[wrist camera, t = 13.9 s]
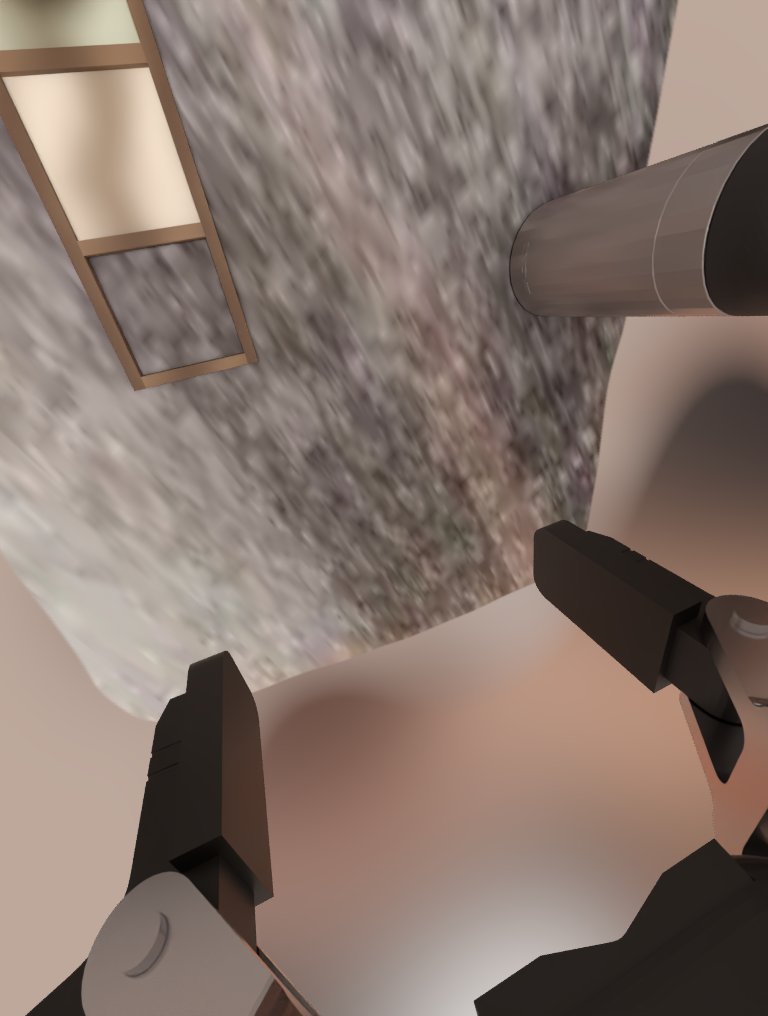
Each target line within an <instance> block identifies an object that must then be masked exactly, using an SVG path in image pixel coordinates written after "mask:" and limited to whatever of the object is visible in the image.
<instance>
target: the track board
mask: <svg viewBox="0 0 768 1016" xmlns="http://www.w3.org/2000/svg"><path fill="white" fill-rule="evenodd" d="M0 116H1V118H2V120H3V122H4V124H5V126H6V128H7V130H8V132H9V134H10V136H11V138H12V140H13V142H14V145H15V147H16V149H17V151H18V153H19V155H20V157H21V159H22V161H23V163H24V165H25V167H26V169H27V171H28V173H29V175H30V177H31V179H32V181H33V184H34V186H35V188H36V190H37V192H38V194H39V196H40V198H41V200H42V202H43V204H44V206H45V208H46V210H47V212H48V214H49V216H50V218H51V220H52V223H53V225H54V227H55V229H56V231H57V233H58V235H59V237H60V239H61V241H62V243H63V245H64V247H65V249H66V251H67V253H68V255H69V257H70V259H71V262H72V264H73V266H74V268H75V270H76V272H77V274H78V276H79V278H80V280H81V282H82V284H83V286H84V288H85V290H86V292H87V294H88V296H89V298H90V301H91V303H92V305H93V307H94V309H95V311H96V313H97V315H98V317H99V319H100V321H101V323H102V325H103V327H104V329H105V331H106V333H107V335H108V337H109V340H110V342H111V344H112V346H113V348H114V350H115V352H116V354H117V356H118V358H119V360H120V362H121V364H122V366H123V368H124V370H125V372H126V374H127V376H128V379H129V381H130V383H131V385H132V387H133V389H134V391H136V390H140V389H145V388H149V387H153V386H157V385H162V384H166V383H170V382H174V381H178V380H183V379H187V378H191V377H195V376H200V375H204V374H208V373H212V372H216V371H221V370H225V369H229V368H233V367H238V366H242V365H246V364H250V363H254V362H258V359H257V356H256V353H255V350H254V347H253V344H252V341H251V337H250V334H249V331H248V328H247V325H246V322H245V319H244V316H243V313H242V309H241V306H240V303H239V300H238V297H237V294H236V291H235V288H234V285H233V281H232V278H231V275H230V272H229V269H228V266H227V263H226V260H225V257H224V253H223V250H222V247H221V244H220V241H219V238H218V235H217V232H216V229H215V226H214V222H213V219H212V216H211V213H210V210H209V207H208V204H207V201H206V198H205V194H204V191H203V188H202V185H201V182H200V179H199V176H198V173H197V170H196V166H195V163H194V160H193V157H192V154H191V151H190V148H189V145H188V142H187V139H186V135H185V132H184V129H183V126H182V123H181V120H180V117H179V114H178V111H177V107H176V104H175V101H174V98H173V95H172V92H171V89H170V86H169V83H168V79H167V76H166V73H165V70H164V67H163V64H162V61H161V58H160V55H159V52H158V48H157V45H156V42H155V39H154V36H153V33H152V30H151V27H150V24H149V20H148V17H147V14H146V11H145V8H144V5H143V2H142V0H0ZM205 238H206V240H207V243H208V246H209V249H210V252H211V255H212V258H213V261H214V264H215V267H216V270H217V273H218V276H219V279H220V282H221V285H222V288H223V291H224V294H225V297H226V300H227V303H228V306H229V309H230V312H231V315H232V318H233V321H234V324H235V327H236V330H237V333H238V336H239V339H240V342H241V345H242V348H243V351H244V353H240V354H236V355H231V356H227V357H223V358H218V359H214V360H209V361H205V362H201V363H196V364H192V365H188V366H183V367H179V368H175V369H170V370H166V371H162V372H157V373H153V374H149V375H144V376H143V375H142V373H141V371H140V369H139V367H138V365H137V362H136V360H135V358H134V356H133V354H132V352H131V350H130V348H129V345H128V343H127V341H126V339H125V337H124V335H123V333H122V330H121V328H120V326H119V324H118V322H117V320H116V318H115V316H114V313H113V311H112V309H111V307H110V305H109V303H108V301H107V298H106V296H105V294H104V292H103V290H102V288H101V286H100V283H99V281H98V279H97V277H96V275H95V273H94V271H93V269H92V266H91V264H90V262H89V260H88V258H89V257H95V256H101V255H107V254H113V253H119V252H126V251H132V250H138V249H144V248H150V247H156V246H162V245H169V244H175V243H181V242H187V241H193V240H199V239H205Z"/></svg>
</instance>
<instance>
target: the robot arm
mask: <svg viewBox="0 0 768 1016" xmlns="http://www.w3.org/2000/svg"><path fill="white" fill-rule="evenodd" d="M510 274H511V283H512V286H513V290H514V293H515V295H516V297H517V299H518V301H519V303H520V304H521V305H522V306H523V307H524V309H526V310H527V311H529V312H530V313H532V314H535V315H538V316H572V317H613V316H768V124H766V125H763V126H760V127H758V128H754V129H752V130H749V131H746V132H743V133H741V134H738V135H735V136H732V137H729V138H727V139H724V140H721V141H718V142H716V143H713V144H711V145H708V146H705V147H702V148H699V149H696V150H694V151H691V152H688V153H685V154H682V155H679V156H676V157H674V158H671V159H668V160H665V161H662V162H660V163H657V164H654V165H651V166H648V167H645V168H642V169H640V170H637V171H634V172H631V173H628V174H625V175H623V176H620V177H617V178H614V179H611V180H608V181H606V182H603V183H600V184H597V185H594V186H591V187H589V188H585V189H582V190H579V191H577V192H574V193H571V194H568V195H565V196H563V197H560V198H557V199H554V200H551V201H549V202H547V203H545V204H543V205H541V206H539V207H538V208H537V209H536V210H534V211H533V212H532V213H531V214H530V216H529V217H528V218H527V219H526V220H525V222H524V223H523V225H522V227H521V229H520V230H519V232H518V235H517V237H516V240H515V243H514V246H513V250H512V255H511V265H510ZM533 574H534V580H535V583H536V586H537V588H538V589H539V591H540V592H541V593H542V595H543V596H544V597H545V598H546V599H547V600H548V601H550V602H551V603H552V604H553V605H554V606H555V607H556V608H558V609H559V610H560V611H561V612H562V613H563V614H564V615H566V616H567V617H568V618H569V619H570V620H571V621H572V622H573V623H575V624H576V625H577V626H578V627H579V628H580V629H581V630H583V631H584V632H585V633H586V634H587V635H588V636H589V637H591V638H592V639H593V640H594V641H595V642H596V643H597V644H598V645H600V646H601V647H602V648H603V649H604V650H605V651H607V652H608V653H609V654H610V655H611V656H612V657H613V658H614V659H616V660H617V661H618V662H619V663H620V664H621V665H622V666H624V667H625V668H626V669H627V670H628V671H629V672H630V673H631V674H633V675H634V676H635V677H636V678H637V679H638V680H639V681H640V682H642V683H643V684H644V685H645V686H646V687H647V688H648V689H650V690H651V691H652V692H653V693H655V692H657V691H659V690H661V689H663V688H664V687H666V686H668V685H670V684H673V685H674V686H676V687H677V688H678V689H679V690H680V694H679V700H680V704H681V707H682V710H683V712H684V716H685V718H686V721H687V724H688V727H689V730H690V733H691V736H692V738H693V741H694V744H695V747H696V750H697V753H698V756H699V759H700V762H701V764H702V767H703V770H704V773H705V776H706V779H707V782H708V785H709V788H710V791H711V796H712V804H713V812H712V816H713V827H714V833H715V838H716V840H715V839H713V840H711V841H710V842H708V843H707V844H705V845H704V846H702V847H701V848H699V849H698V850H696V851H695V852H693V853H692V854H690V855H689V856H688V857H686V858H684V859H683V860H682V861H680V862H678V863H677V864H676V865H674V866H673V867H671V868H670V869H668V870H667V871H665V872H664V873H662V875H661V876H660V878H659V880H658V881H657V883H656V885H655V886H654V888H653V890H652V891H651V893H650V894H649V896H648V898H647V899H646V901H645V903H644V904H643V906H642V908H641V909H640V911H639V912H638V914H637V916H636V917H635V919H634V921H633V922H632V924H631V925H630V927H629V928H628V930H627V932H626V933H625V934H624V936H623V937H622V938H620V939H619V940H617V941H614V942H609V943H604V944H599V945H594V946H589V947H583V948H578V949H573V950H568V951H563V952H558V953H552V954H547V955H542V956H540V957H538V958H537V959H535V960H534V961H532V962H531V963H529V964H528V965H526V966H525V967H523V968H522V969H520V970H519V971H517V972H516V973H514V974H513V975H511V976H510V977H508V978H507V979H506V980H504V981H503V982H501V983H500V984H498V985H497V986H495V987H494V988H492V989H491V990H489V991H488V992H486V993H485V994H483V995H482V996H480V997H479V998H477V999H476V1000H474V1004H475V1008H476V1011H477V1015H478V1016H768V602H766V601H763V600H760V599H757V598H753V597H748V596H742V595H722V596H719V597H714V596H713V595H711V594H709V593H707V592H705V591H704V590H702V589H700V588H698V587H696V586H695V585H693V584H691V583H690V582H688V581H686V580H684V579H683V578H681V577H679V576H677V575H676V574H674V573H672V572H670V571H669V570H667V569H665V568H663V567H662V566H660V565H658V564H657V563H655V562H653V561H651V560H647V559H646V557H644V556H643V555H641V554H639V553H637V552H636V551H631V550H630V548H628V547H627V546H625V545H623V544H622V543H620V542H618V541H616V540H615V539H613V538H611V537H608V536H604V535H601V534H598V533H594V532H591V531H587V532H586V531H584V530H583V529H581V528H579V527H577V526H576V525H574V524H572V523H571V522H569V521H566V520H561V521H558V522H556V523H553V524H551V525H548V526H546V527H543V528H540V529H538V530H537V531H536V532H535V534H534V570H533ZM151 753H152V758H151V759H150V764H149V770H148V775H147V776H148V781H147V782H146V787H145V793H144V799H143V805H142V811H141V817H140V823H139V828H138V834H137V840H136V846H135V852H134V858H133V864H132V870H131V875H130V880H129V884H128V888H127V891H126V894H125V897H124V898H123V899H122V901H121V902H120V903H119V904H118V905H117V906H116V907H115V909H114V910H113V911H112V913H111V914H110V915H109V917H108V918H107V920H106V922H105V923H104V925H103V926H102V928H101V930H100V932H99V934H98V935H97V937H96V940H95V941H94V944H93V946H92V948H91V951H90V953H89V956H88V958H87V959H86V960H85V961H84V962H83V963H82V964H81V966H79V968H77V969H76V970H75V971H74V972H73V973H72V974H71V975H70V976H69V977H68V978H67V979H66V980H65V981H63V982H62V983H61V984H60V985H59V986H58V987H57V988H56V989H55V990H53V992H51V993H50V994H49V995H48V996H47V997H46V998H45V999H43V1000H42V1001H41V1002H40V1003H39V1004H38V1005H37V1006H36V1007H34V1008H33V1009H32V1010H31V1011H30V1012H29V1013H28V1014H27V1015H26V1016H321V1015H320V1014H319V1013H318V1012H317V1010H316V1009H315V1008H314V1007H313V1006H312V1005H311V1004H310V1003H309V1001H308V1000H307V999H306V998H305V997H304V996H303V995H302V994H301V992H299V990H298V989H297V988H296V987H295V986H294V985H293V984H292V982H291V981H290V980H289V979H288V978H287V977H286V976H285V975H284V973H283V972H282V971H281V970H280V969H279V968H278V967H277V966H276V964H275V963H274V962H273V961H272V960H271V959H270V958H269V957H268V956H267V954H266V953H265V952H264V951H263V950H262V949H261V948H260V946H259V945H258V944H257V943H256V924H255V906H257V905H259V904H261V903H262V902H264V901H266V900H268V899H270V898H272V897H273V885H272V871H271V861H270V860H271V859H270V848H269V836H268V823H267V811H266V799H265V787H264V775H263V763H262V751H261V739H260V727H259V717H258V712H257V708H256V704H255V701H254V698H253V696H252V693H251V691H250V689H249V688H248V686H247V684H246V682H245V680H244V678H243V677H242V675H241V673H240V671H239V669H238V667H237V666H236V664H235V662H234V660H233V658H232V657H231V655H230V653H229V652H228V651H223V652H221V653H218V654H216V655H213V656H211V657H208V658H206V659H203V660H200V661H198V662H195V663H193V664H191V665H190V667H189V670H188V679H187V688H186V693H185V694H182V695H180V696H177V697H175V698H172V699H170V701H169V703H168V704H167V706H166V708H165V710H164V712H163V714H162V716H161V717H160V719H159V721H158V723H157V725H156V728H155V735H154V740H153V746H152V752H151Z"/></svg>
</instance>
